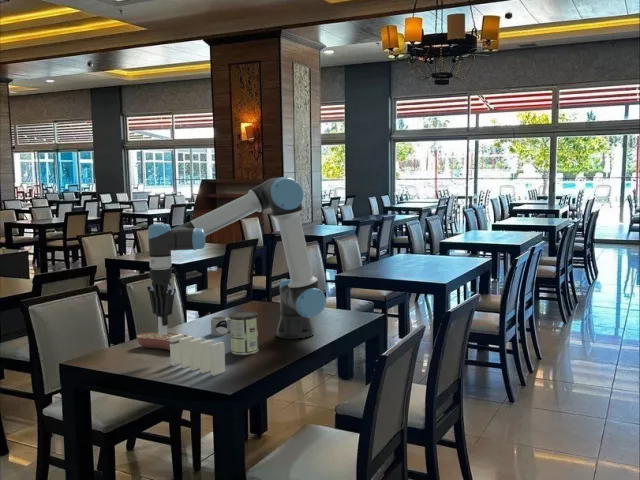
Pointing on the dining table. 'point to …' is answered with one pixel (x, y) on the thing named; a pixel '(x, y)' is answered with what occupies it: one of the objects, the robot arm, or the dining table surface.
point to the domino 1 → (175, 349)
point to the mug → (219, 326)
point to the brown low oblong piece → (155, 340)
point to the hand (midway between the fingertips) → (163, 334)
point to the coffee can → (244, 332)
